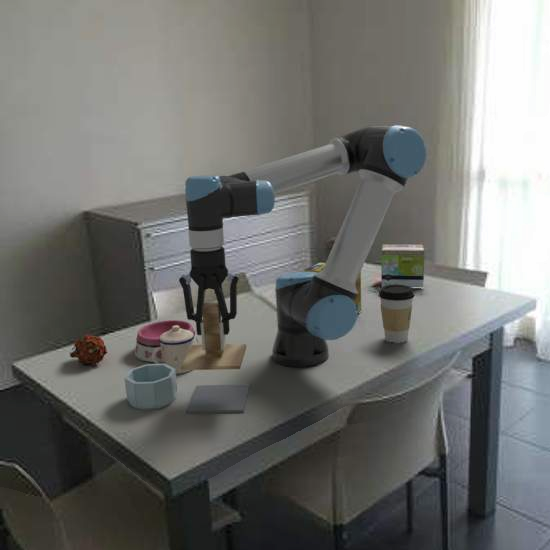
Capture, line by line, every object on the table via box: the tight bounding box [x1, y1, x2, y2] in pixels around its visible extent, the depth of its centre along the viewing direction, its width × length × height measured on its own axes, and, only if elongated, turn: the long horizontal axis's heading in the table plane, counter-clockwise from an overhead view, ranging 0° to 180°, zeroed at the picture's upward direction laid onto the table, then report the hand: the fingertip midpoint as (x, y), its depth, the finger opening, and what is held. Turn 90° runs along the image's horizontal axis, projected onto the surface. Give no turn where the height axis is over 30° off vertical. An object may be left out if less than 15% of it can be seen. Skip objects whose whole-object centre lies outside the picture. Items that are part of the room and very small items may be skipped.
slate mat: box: [185, 384, 251, 414], centre depth 144 cm, size 13×13×1 cm
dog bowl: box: [133, 319, 200, 364], centre depth 175 cm, size 18×19×7 cm
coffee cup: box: [378, 285, 415, 344], centre depth 174 cm, size 10×10×15 cm
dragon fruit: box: [69, 334, 108, 366], centre depth 169 cm, size 8×8×12 cm
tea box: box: [380, 244, 425, 288], centre depth 225 cm, size 15×10×15 cm
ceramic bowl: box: [124, 363, 178, 410], centre depth 145 cm, size 11×11×6 cm
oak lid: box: [181, 301, 247, 371], centre depth 140 cm, size 13×13×13 cm
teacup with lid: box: [152, 325, 194, 375], centre depth 161 cm, size 12×9×12 cm
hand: (214, 347), depth 141 cm, fingers closed on oak lid, 3 cm apart
